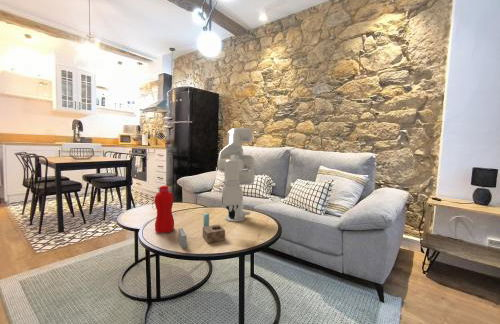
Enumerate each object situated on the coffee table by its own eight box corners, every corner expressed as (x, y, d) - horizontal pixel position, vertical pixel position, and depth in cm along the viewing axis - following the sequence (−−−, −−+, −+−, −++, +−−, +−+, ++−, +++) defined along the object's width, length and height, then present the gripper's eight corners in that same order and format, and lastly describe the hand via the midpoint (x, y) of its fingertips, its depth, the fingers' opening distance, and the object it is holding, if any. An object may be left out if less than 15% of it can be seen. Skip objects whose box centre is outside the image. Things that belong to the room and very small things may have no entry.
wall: (182, 239, 117) (182, 228, 117) (186, 247, 108) (186, 235, 108) (178, 240, 116) (178, 228, 116) (182, 248, 107) (182, 236, 107)
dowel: (208, 230, 129) (208, 213, 129) (209, 232, 127) (209, 214, 126) (202, 231, 128) (202, 213, 127) (204, 233, 125) (204, 215, 125)
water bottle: (155, 227, 133) (154, 184, 131) (175, 227, 134) (174, 184, 132) (150, 234, 124) (148, 187, 122) (171, 233, 125) (170, 187, 123)
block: (219, 233, 125) (219, 224, 125) (224, 239, 117) (224, 230, 116) (202, 236, 121) (202, 227, 121) (207, 243, 113) (207, 233, 113)
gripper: (242, 181, 127) (241, 214, 128) (215, 183, 121) (215, 218, 122) (248, 183, 121) (247, 218, 122) (220, 185, 114) (220, 222, 115)
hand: (231, 218), depth 122 cm, fingers closed
